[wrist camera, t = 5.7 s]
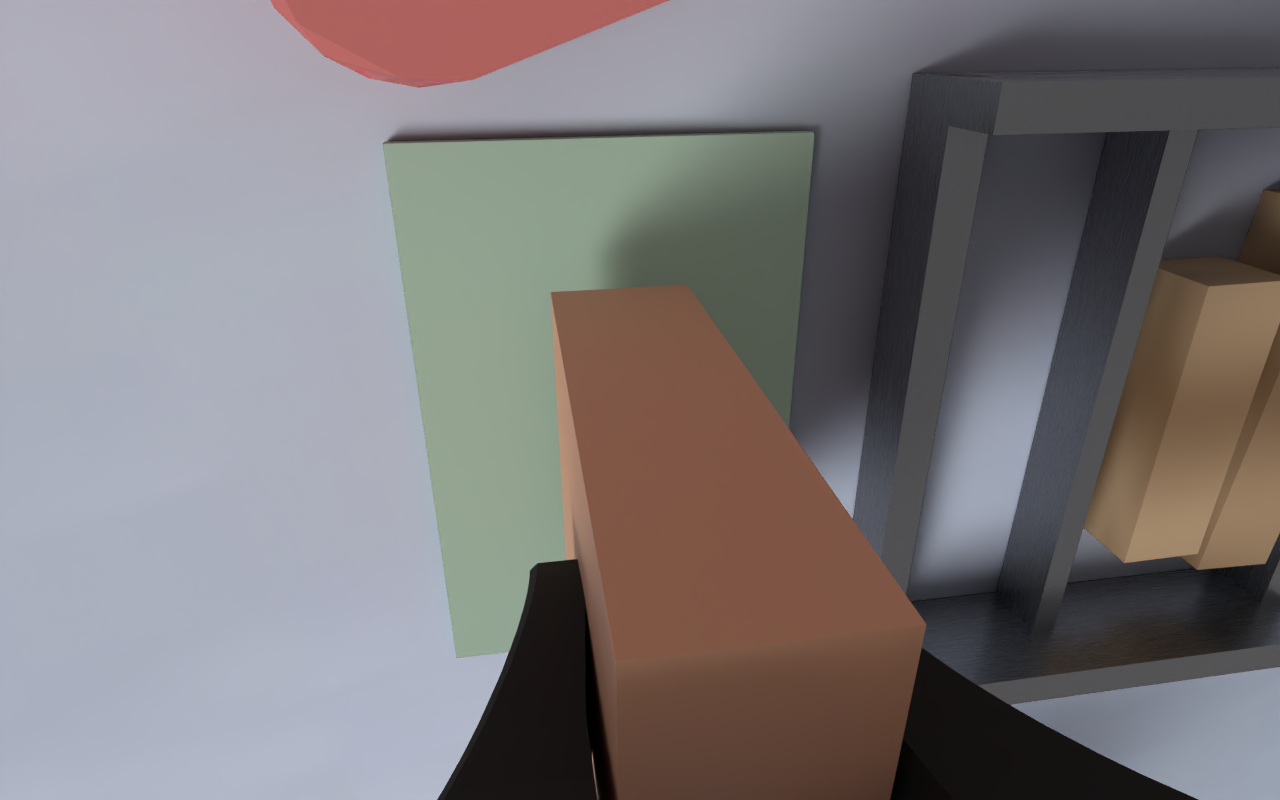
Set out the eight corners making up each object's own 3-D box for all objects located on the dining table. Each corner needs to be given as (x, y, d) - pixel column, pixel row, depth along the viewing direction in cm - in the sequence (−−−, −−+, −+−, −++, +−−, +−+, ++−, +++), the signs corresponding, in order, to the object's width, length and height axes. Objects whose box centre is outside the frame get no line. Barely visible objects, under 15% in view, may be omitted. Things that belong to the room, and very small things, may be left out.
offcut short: (1133, 505, 21) (1197, 553, 19) (1066, 513, 21) (1124, 563, 19) (1208, 252, 18) (1295, 279, 16) (1130, 258, 18) (1208, 286, 16)
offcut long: (1196, 515, 22) (1264, 563, 20) (1133, 520, 21) (1197, 570, 19) (1327, 187, 18) (1430, 207, 16) (1253, 187, 17) (1348, 207, 16)
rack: (1227, 586, 23) (1324, 660, 20) (837, 633, 21) (887, 721, 18) (1436, 65, 17) (1617, 71, 14) (912, 73, 15) (1002, 82, 12)
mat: (769, 613, 20) (772, 620, 20) (457, 649, 19) (456, 658, 19) (809, 130, 15) (814, 132, 15) (385, 141, 14) (382, 143, 14)
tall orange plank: (679, 586, 17) (833, 1074, 9) (568, 598, 17) (626, 1116, 9) (687, 284, 14) (925, 624, 6) (550, 292, 14) (616, 663, 6)
